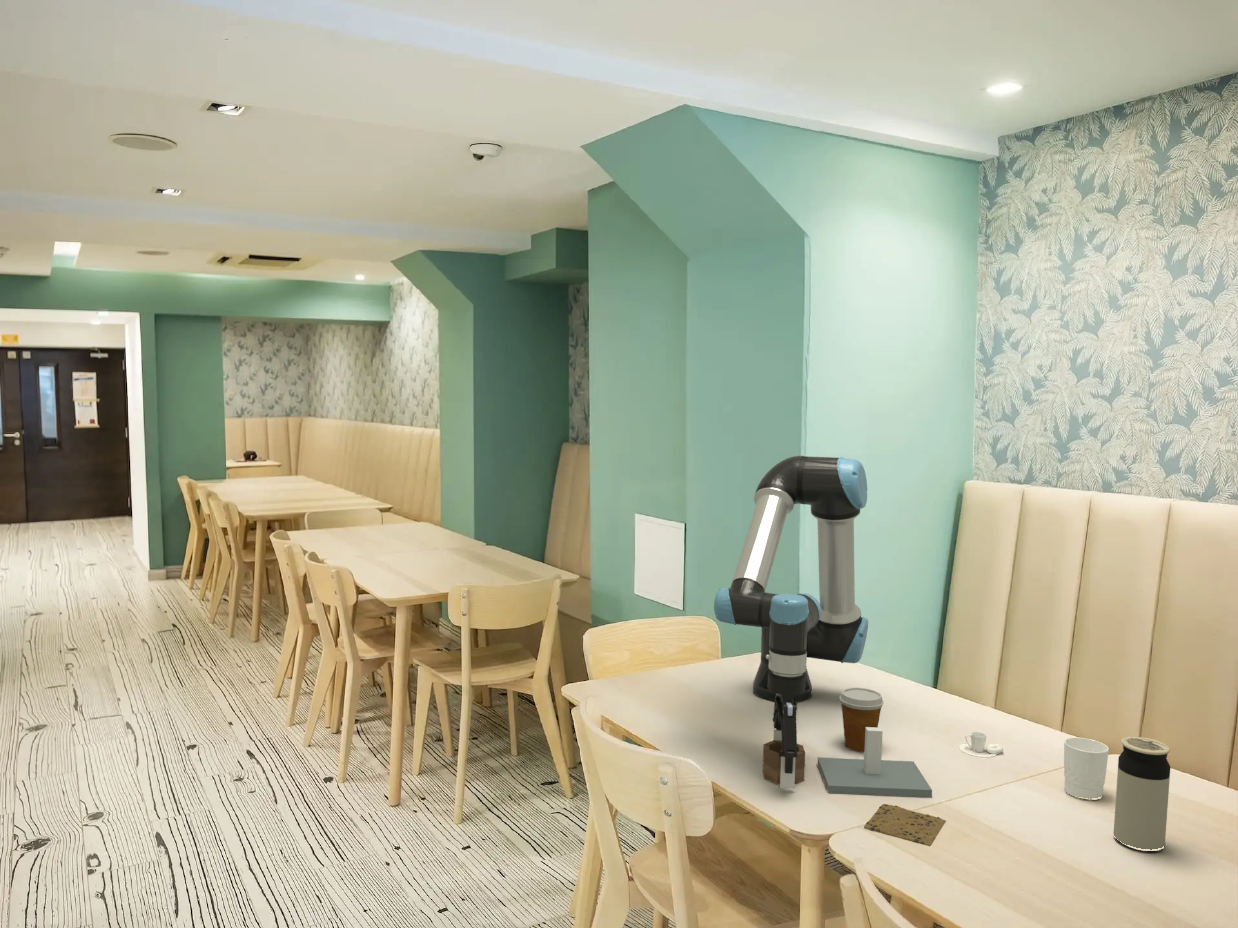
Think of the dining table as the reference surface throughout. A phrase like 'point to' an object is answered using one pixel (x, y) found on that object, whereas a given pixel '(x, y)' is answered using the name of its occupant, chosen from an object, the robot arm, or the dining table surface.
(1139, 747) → the travel mug
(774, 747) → the brown octagonal ring
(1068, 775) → the white cup
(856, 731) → the disposable coffee cup
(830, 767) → the shaft board
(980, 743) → the teacup and saucer
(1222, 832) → the dining table surface
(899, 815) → the speckled square slab
